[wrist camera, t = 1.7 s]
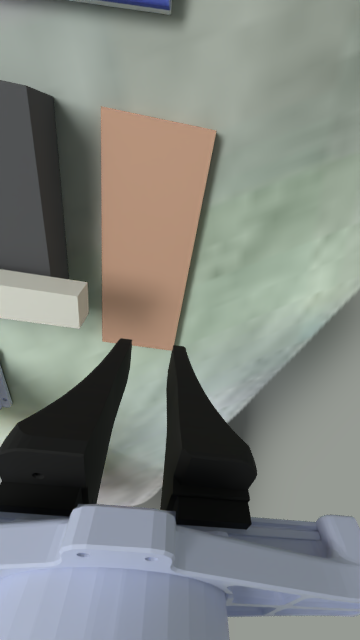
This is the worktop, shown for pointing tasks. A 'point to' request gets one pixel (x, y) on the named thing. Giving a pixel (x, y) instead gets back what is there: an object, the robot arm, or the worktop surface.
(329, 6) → the worktop surface
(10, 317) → the strap
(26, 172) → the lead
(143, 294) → the mat
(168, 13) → the hard drive
